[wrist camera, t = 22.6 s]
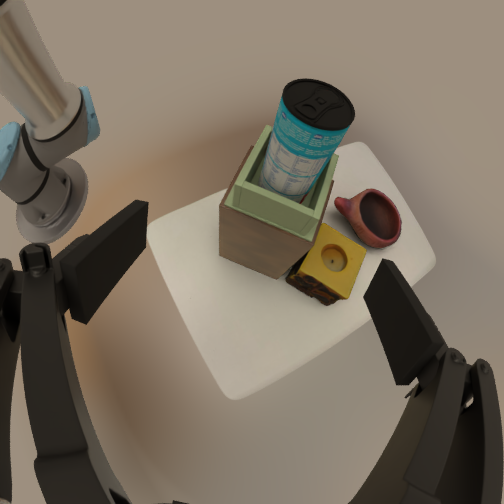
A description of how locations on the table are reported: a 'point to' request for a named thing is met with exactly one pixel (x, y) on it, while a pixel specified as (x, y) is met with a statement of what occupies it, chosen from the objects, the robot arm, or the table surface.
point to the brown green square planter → (260, 239)
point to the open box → (273, 205)
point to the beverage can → (304, 137)
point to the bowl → (372, 217)
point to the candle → (328, 267)
